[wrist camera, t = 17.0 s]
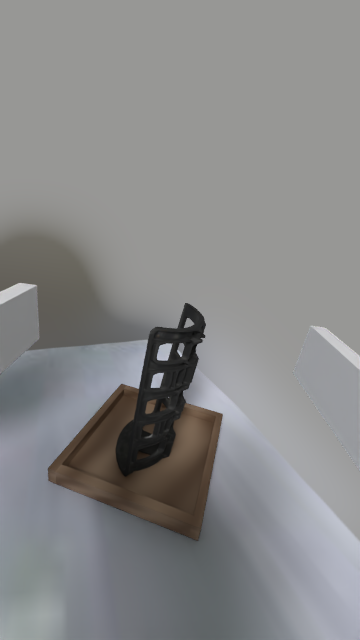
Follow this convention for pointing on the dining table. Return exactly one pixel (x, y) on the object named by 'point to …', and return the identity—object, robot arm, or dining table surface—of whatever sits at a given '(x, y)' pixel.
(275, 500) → the dining table surface
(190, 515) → the tray
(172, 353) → the holder
